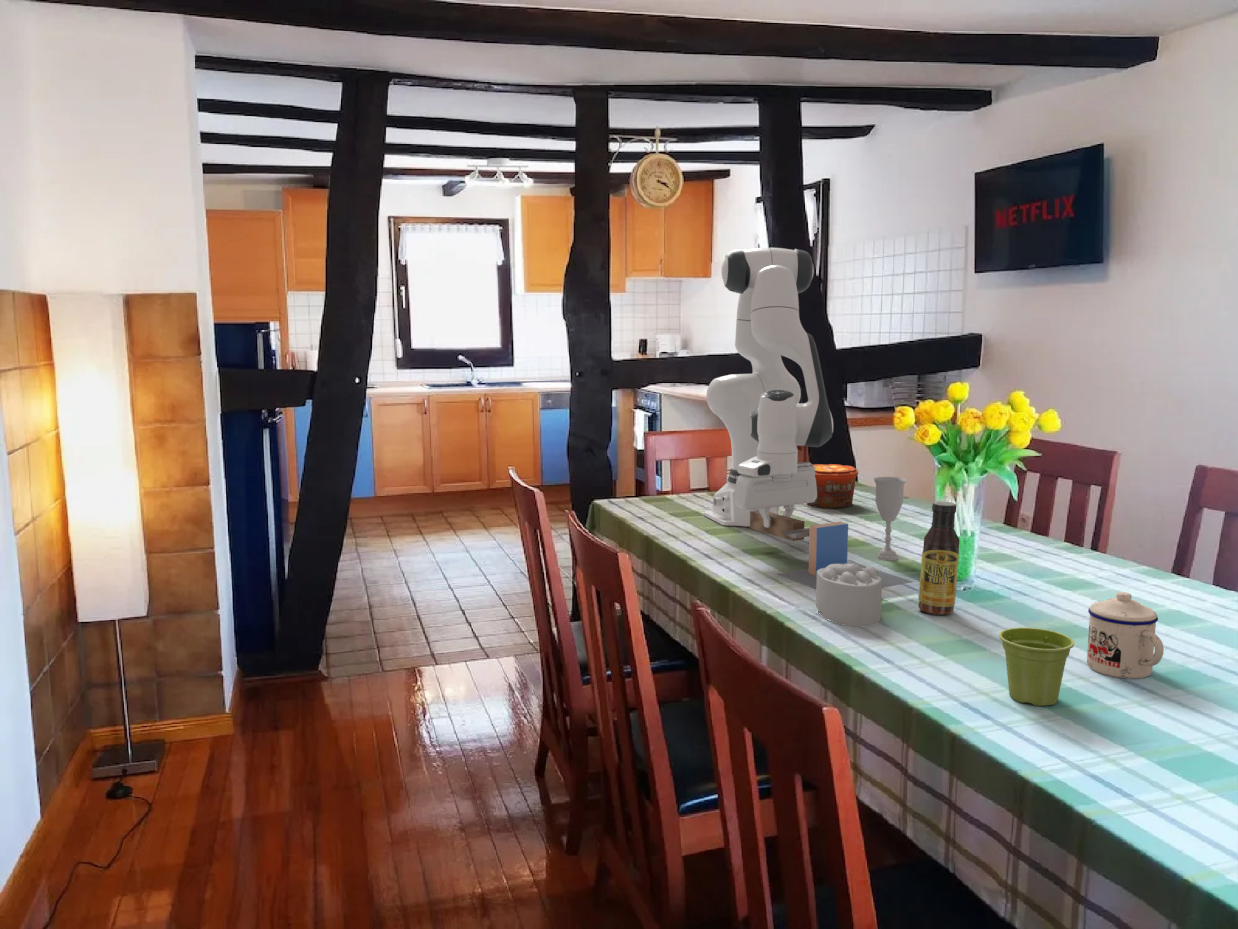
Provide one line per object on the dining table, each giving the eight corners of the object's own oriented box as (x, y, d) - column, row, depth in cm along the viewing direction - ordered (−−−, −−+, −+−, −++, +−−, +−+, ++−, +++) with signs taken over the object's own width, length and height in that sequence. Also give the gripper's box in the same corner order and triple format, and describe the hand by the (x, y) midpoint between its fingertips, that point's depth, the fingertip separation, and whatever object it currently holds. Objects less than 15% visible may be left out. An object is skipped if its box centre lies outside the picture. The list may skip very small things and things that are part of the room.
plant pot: (982, 688, 132) (984, 629, 130) (1039, 682, 134) (1043, 624, 133) (1024, 715, 123) (1028, 652, 121) (1086, 707, 125) (1090, 646, 123)
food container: (789, 502, 271) (790, 466, 269) (832, 497, 278) (833, 462, 277) (825, 512, 257) (825, 473, 255) (869, 506, 264) (870, 469, 263)
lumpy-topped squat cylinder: (864, 603, 173) (866, 558, 171) (892, 625, 160) (893, 576, 159) (810, 606, 172) (811, 560, 170) (833, 628, 159) (834, 579, 158)
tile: (808, 573, 192) (809, 525, 190) (839, 568, 195) (840, 521, 194) (816, 576, 189) (817, 528, 188) (846, 570, 193) (848, 523, 191)
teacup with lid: (1071, 661, 142) (1075, 587, 140) (1121, 655, 144) (1126, 582, 142) (1131, 690, 130) (1137, 610, 129) (1185, 684, 132) (1191, 605, 131)
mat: (776, 576, 191) (776, 573, 191) (852, 564, 200) (852, 561, 200) (834, 598, 175) (834, 595, 175) (913, 584, 184) (913, 581, 184)
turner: (740, 529, 213) (740, 512, 212) (769, 525, 216) (769, 508, 216) (795, 546, 195) (795, 527, 194) (825, 541, 198) (825, 523, 198)
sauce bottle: (918, 615, 165) (923, 505, 162) (917, 605, 171) (921, 499, 168) (957, 617, 163) (962, 507, 160) (955, 607, 169) (959, 500, 166)
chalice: (905, 565, 199) (908, 482, 197) (872, 564, 201) (874, 481, 198) (901, 557, 206) (904, 477, 204) (870, 555, 208) (872, 476, 205)
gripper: (805, 459, 212) (804, 518, 214) (731, 466, 203) (730, 528, 205) (823, 462, 207) (822, 523, 209) (747, 469, 198) (747, 533, 200)
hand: (776, 525), depth 207 cm, fingers closed on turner, 3 cm apart
